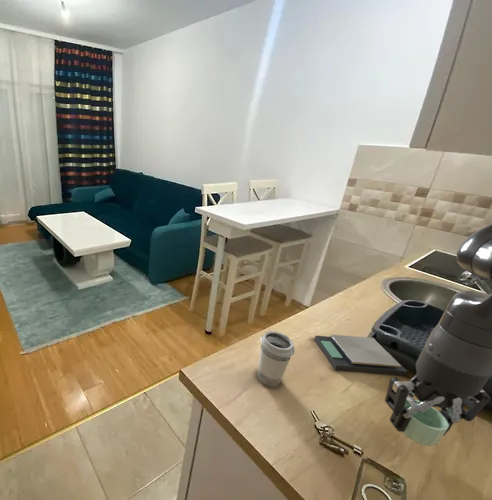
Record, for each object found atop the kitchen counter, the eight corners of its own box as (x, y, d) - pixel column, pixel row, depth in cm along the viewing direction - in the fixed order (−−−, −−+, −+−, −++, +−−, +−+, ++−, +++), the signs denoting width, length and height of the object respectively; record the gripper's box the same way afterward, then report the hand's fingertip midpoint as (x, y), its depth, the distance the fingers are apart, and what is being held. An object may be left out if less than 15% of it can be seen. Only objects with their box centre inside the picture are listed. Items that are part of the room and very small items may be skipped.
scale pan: (372, 339, 77) (373, 337, 77) (400, 367, 68) (401, 365, 68) (330, 336, 78) (330, 334, 78) (351, 363, 69) (352, 361, 69)
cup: (290, 388, 65) (303, 346, 61) (269, 398, 63) (280, 355, 58) (266, 366, 71) (276, 326, 67) (245, 374, 68) (254, 334, 64)
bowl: (419, 417, 55) (428, 400, 53) (447, 450, 49) (459, 432, 47) (385, 414, 55) (393, 397, 53) (409, 446, 49) (420, 428, 48)
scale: (373, 347, 79) (377, 339, 78) (403, 379, 69) (408, 370, 68) (312, 342, 80) (315, 334, 79) (333, 373, 70) (337, 364, 69)
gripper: (428, 370, 42) (388, 445, 49) (535, 379, 41) (480, 455, 48) (392, 336, 49) (361, 406, 56) (483, 343, 48) (441, 414, 55)
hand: (416, 428), depth 52 cm, fingers closed on bowl, 6 cm apart
